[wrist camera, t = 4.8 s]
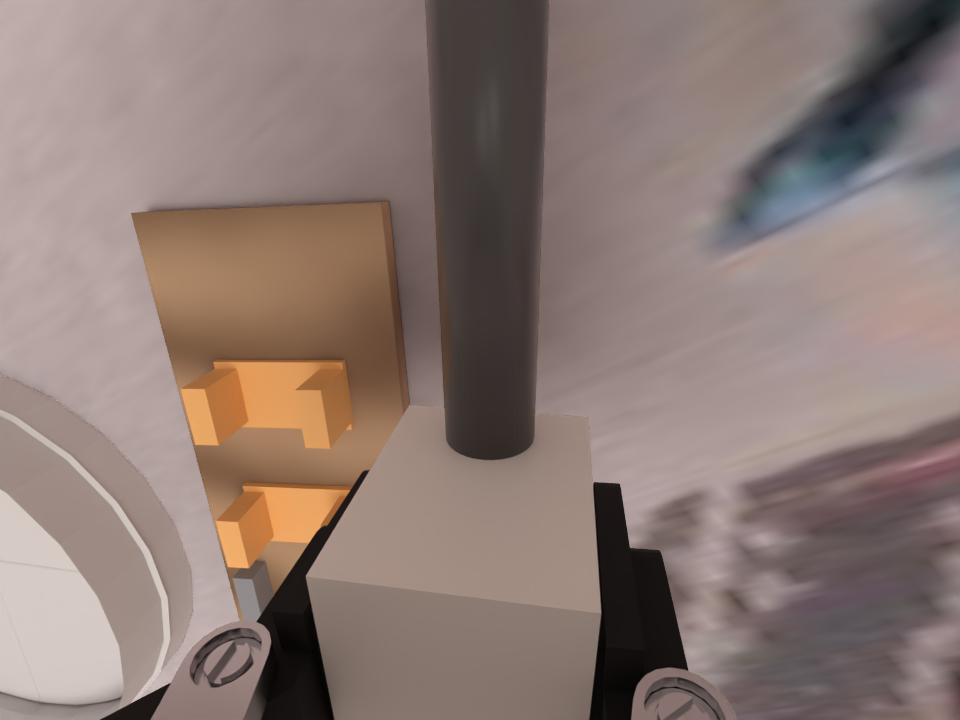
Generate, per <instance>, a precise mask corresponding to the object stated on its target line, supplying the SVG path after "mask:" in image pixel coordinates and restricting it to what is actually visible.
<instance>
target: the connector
mask: <svg viewBox="0 0 960 720" xmlns="http://www.w3.org/2000/svg"><path fill="white" fill-rule="evenodd" d="M425 6H426V27H427V49H428V70H429V91H430V112H431V133H432V155H433V176H434V197H435V218H436V239H437V261H438V282H439V303H440V324H441V345H442V366H443V388H444V407H434V406H419V405H409V406H408V408H407V410H406V411H405V413H404V415H403V416H402V418H401V420H400V421H399V423H398V425H397V426H396V428H395V429H394V431H393V433H392V434H391V436H390V438H389V439H388V441H387V443H386V444H385V446H384V448H383V449H382V451H381V453H380V454H379V456H378V458H377V459H376V461H375V463H374V464H373V466H372V467H371V469H370V471H369V472H368V474H367V476H366V477H365V479H364V481H363V482H362V484H361V486H360V487H359V489H358V491H357V492H356V494H355V496H354V497H353V499H352V501H351V502H350V504H349V505H348V507H347V509H346V510H345V512H344V514H343V515H342V517H341V519H340V520H339V522H338V524H337V525H336V527H335V529H334V530H333V532H332V534H331V535H330V537H329V539H328V540H327V542H326V543H325V545H324V547H323V548H322V550H321V552H320V553H319V555H318V557H317V558H316V560H315V562H314V563H313V565H312V567H311V568H310V570H309V572H308V573H307V575H306V581H307V586H308V591H309V596H310V600H311V605H312V610H313V615H314V620H315V625H316V630H317V635H318V640H319V645H320V650H321V655H322V660H323V665H324V670H325V675H326V680H327V685H328V690H329V695H330V700H331V705H332V710H333V715H334V720H589V717H590V708H591V699H592V690H593V681H594V673H595V664H596V655H597V646H598V637H599V629H600V620H601V602H600V587H599V571H598V556H597V540H596V525H595V509H594V494H593V479H592V463H591V448H590V432H589V417H581V416H566V415H551V414H537V413H535V404H536V374H537V345H538V316H539V286H540V257H541V227H542V198H543V168H544V139H545V110H546V80H547V51H548V21H549V0H425Z"/></svg>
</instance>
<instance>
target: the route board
mask: <svg viewBox="0 0 960 720" xmlns="http://www.w3.org/2000/svg"><path fill="white" fill-rule="evenodd" d="M131 215H132V218H133V222H134V226H135V230H136V233H137V237H138V241H139V245H140V248H141V252H142V256H143V260H144V263H145V267H146V271H147V275H148V278H149V282H150V286H151V289H152V293H153V297H154V301H155V304H156V308H157V312H158V316H159V319H160V323H161V327H162V331H163V334H164V338H165V342H166V346H167V349H168V353H169V357H170V361H171V364H172V368H173V372H174V376H175V379H176V383H177V387H178V391H179V394H180V398H181V402H182V405H183V409H184V413H185V417H186V420H187V424H188V428H189V432H190V435H191V439H192V443H193V447H194V450H195V454H196V458H197V462H198V465H199V469H200V473H201V477H202V480H203V484H204V488H205V492H206V495H207V499H208V503H209V507H210V510H211V514H212V518H213V521H214V525H215V529H216V533H217V536H218V540H219V544H220V548H221V551H222V555H223V559H224V563H225V566H226V570H227V574H228V578H229V581H230V585H231V589H232V593H233V596H234V600H235V604H236V608H237V611H238V615H239V619H240V621H244V620H243V616H242V612H241V608H240V605H239V601H238V597H237V593H236V590H235V586H234V582H233V577H234V576H235V574H236V573H237V572H238V571H239V569H240V568H235V567H228V566H227V562H226V558H225V555H224V551H223V547H222V543H221V540H220V536H219V532H218V528H217V525H216V520H217V519H218V518H219V517H220V516H221V515H222V514H223V513H224V512H225V511H226V510H227V509H228V508H229V507H230V506H231V505H232V503H233V502H234V501H235V500H236V499H237V498H238V497H239V496H240V495H241V494H242V493H243V492H244V490H243V485H244V484H245V483H246V482H251V483H276V484H302V485H327V486H352V487H353V485H354V484H355V482H356V481H357V479H358V478H359V476H360V475H361V473H362V472H363V471H364V470H370V469H371V467H372V466H373V464H374V463H375V461H376V459H377V458H378V456H379V454H380V453H381V451H382V449H383V448H384V446H385V444H386V443H387V441H388V439H389V438H390V436H391V434H392V433H393V431H394V429H395V428H396V426H397V425H398V423H399V421H400V420H401V418H402V416H403V415H404V413H405V411H406V410H407V408H408V406H409V405H410V404H409V394H408V384H407V374H406V364H405V355H404V345H403V335H402V325H401V315H400V305H399V295H398V285H397V275H396V265H395V255H394V245H393V235H392V225H391V215H390V206H389V201H388V202H364V203H341V204H317V205H293V206H269V207H245V208H221V209H197V210H173V211H150V212H139V213H131ZM216 360H345V365H346V372H347V379H348V386H349V393H350V400H351V407H352V414H353V421H354V428H353V429H352V430H345V431H344V432H343V434H342V435H341V436H340V437H339V439H338V440H337V441H336V442H335V444H334V445H333V446H332V447H331V449H322V448H305V443H304V437H303V432H302V429H296V428H253V427H241V428H240V429H238V430H237V431H236V432H235V433H233V434H232V435H231V436H230V437H229V438H227V439H226V440H225V441H224V442H222V443H221V444H220V445H219V446H217V445H195V442H194V438H193V434H192V430H191V427H190V423H189V419H188V415H187V412H186V408H185V404H184V400H183V397H182V393H181V388H183V387H184V386H186V385H188V384H189V383H191V382H193V381H195V380H196V379H198V378H200V377H202V376H203V375H205V374H207V373H209V372H210V371H212V370H214V369H215V368H214V363H213V362H214V361H216ZM308 544H309V543H296V542H279V541H270V542H269V543H268V545H267V546H266V547H265V548H264V550H263V551H262V552H261V554H260V555H259V556H258V558H257V559H256V560H255V561H266V565H267V569H268V573H269V578H270V582H271V586H272V591H273V595H275V593H276V592H277V590H278V589H279V587H280V586H281V584H282V583H283V581H284V580H285V578H286V577H287V575H288V574H289V572H290V571H291V569H292V568H293V566H294V565H295V563H296V562H297V560H298V559H299V557H300V556H301V554H302V553H303V551H304V550H305V548H306V547H307V545H308Z"/></svg>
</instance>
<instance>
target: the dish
mask: <svg viewBox="0 0 960 720" xmlns="http://www.w3.org/2000/svg"><path fill="white" fill-rule="evenodd" d="M192 612H193V597H192V574H191V568H190V565H189V563H188V560H187V557H186V554H185V551H184V548H183V545H182V543H181V540H180V537H179V534H178V531H177V528H176V526H175V524H174V523H173V521H172V519H171V518H170V516H169V515H168V513H167V512H166V510H165V508H164V507H163V505H162V504H161V502H160V501H159V499H158V497H157V496H156V494H155V493H154V491H153V490H152V488H151V486H150V485H149V483H148V482H147V480H146V479H145V478H144V477H143V476H142V475H141V474H140V473H139V472H138V470H137V469H136V468H135V467H134V466H133V465H132V464H131V463H130V462H129V461H128V460H127V459H126V458H125V457H124V456H123V455H122V454H121V453H120V451H119V450H118V449H117V448H116V447H115V446H114V445H113V444H112V443H111V442H110V441H109V440H108V439H107V438H106V437H105V436H104V435H103V434H101V433H100V432H99V431H97V430H96V429H94V428H93V427H92V426H90V425H89V424H87V423H86V422H85V421H83V420H82V419H81V418H79V417H78V416H76V415H75V414H74V413H72V412H71V411H69V410H68V409H67V408H65V407H64V406H62V405H61V404H60V403H58V402H57V401H55V400H54V399H52V398H50V397H48V396H46V395H44V394H41V393H39V392H37V391H35V390H33V389H31V388H29V387H26V386H24V385H22V384H20V383H18V382H16V381H14V380H11V379H9V378H7V377H5V376H3V375H1V374H0V720H100V719H102V718H104V717H106V716H108V715H110V714H112V713H114V712H115V711H117V710H119V709H121V708H123V707H125V706H127V705H129V704H130V703H131V702H132V701H134V700H136V699H138V698H139V697H140V696H141V695H142V694H143V692H144V691H145V690H146V689H147V688H148V687H149V686H150V684H151V683H152V682H153V681H154V680H155V679H156V677H157V676H158V675H159V674H160V672H161V670H162V669H163V667H164V666H165V665H166V664H167V662H168V661H169V660H170V659H171V657H172V656H173V655H174V653H175V652H176V651H177V650H178V648H179V647H180V646H181V645H182V643H183V641H184V637H185V634H186V631H187V628H188V625H189V622H190V619H191V615H192Z"/></svg>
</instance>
